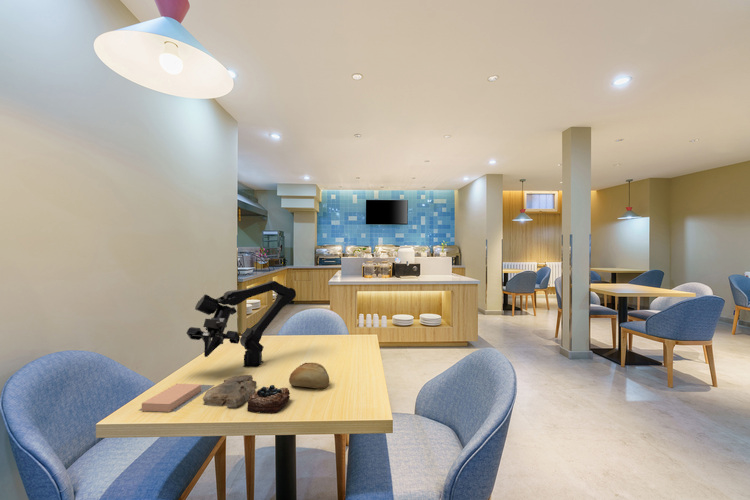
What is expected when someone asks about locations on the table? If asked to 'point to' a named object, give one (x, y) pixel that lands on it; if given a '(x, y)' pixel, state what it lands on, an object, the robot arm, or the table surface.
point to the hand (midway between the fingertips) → (205, 356)
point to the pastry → (268, 400)
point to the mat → (203, 389)
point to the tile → (171, 397)
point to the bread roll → (310, 376)
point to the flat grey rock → (231, 392)
